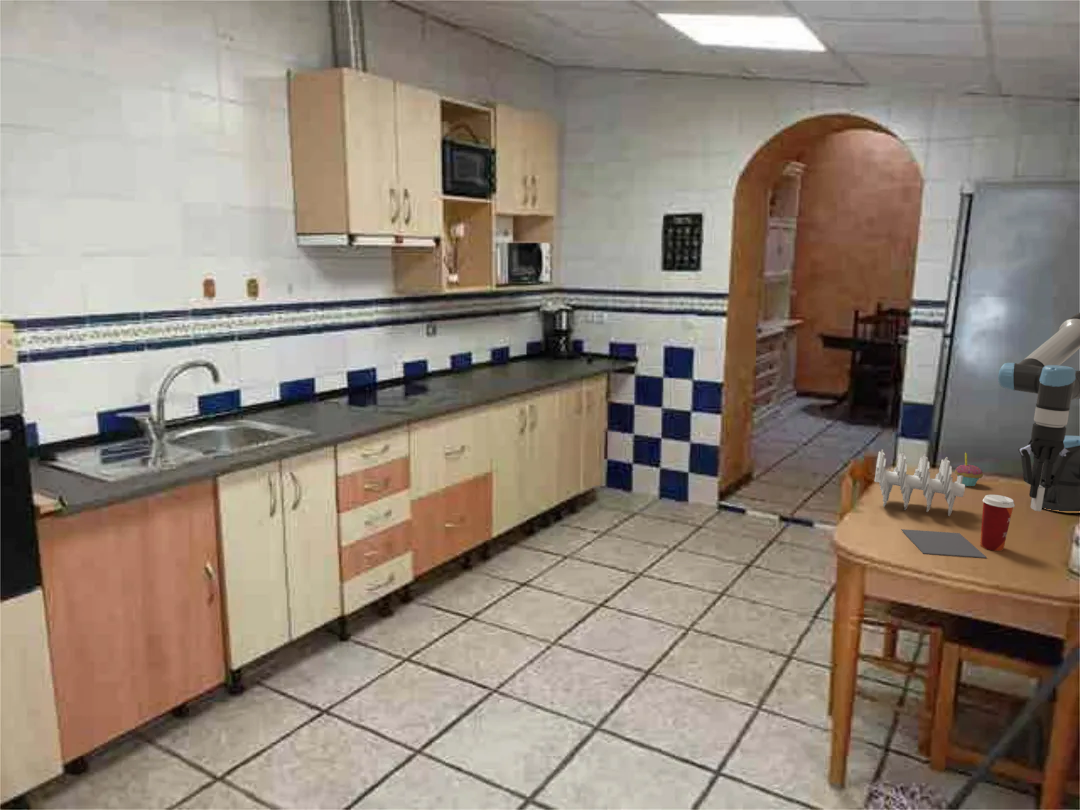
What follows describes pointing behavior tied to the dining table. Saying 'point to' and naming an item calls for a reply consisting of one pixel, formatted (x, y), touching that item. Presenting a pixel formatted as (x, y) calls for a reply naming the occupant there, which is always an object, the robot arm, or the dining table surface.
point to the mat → (943, 543)
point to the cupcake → (969, 473)
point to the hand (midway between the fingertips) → (1035, 509)
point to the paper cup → (995, 521)
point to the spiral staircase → (918, 481)
